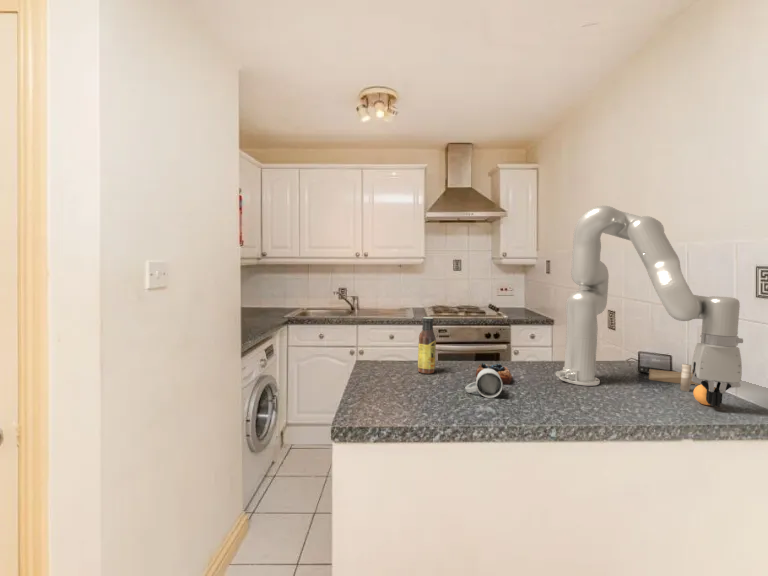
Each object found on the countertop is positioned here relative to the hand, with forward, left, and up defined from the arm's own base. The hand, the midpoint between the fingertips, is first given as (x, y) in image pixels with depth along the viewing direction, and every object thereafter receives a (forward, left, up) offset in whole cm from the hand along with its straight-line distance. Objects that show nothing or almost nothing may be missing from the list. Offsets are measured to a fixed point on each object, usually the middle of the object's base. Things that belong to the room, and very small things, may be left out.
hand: (713, 405), depth 107 cm
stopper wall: (+20, +20, -1) cm, 29 cm away
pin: (+13, +13, -1) cm, 19 cm away
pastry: (-39, +46, -2) cm, 60 cm away
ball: (+3, +3, +2) cm, 5 cm away
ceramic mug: (-53, +35, -2) cm, 63 cm away
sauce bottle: (-57, +62, -2) cm, 84 cm away
